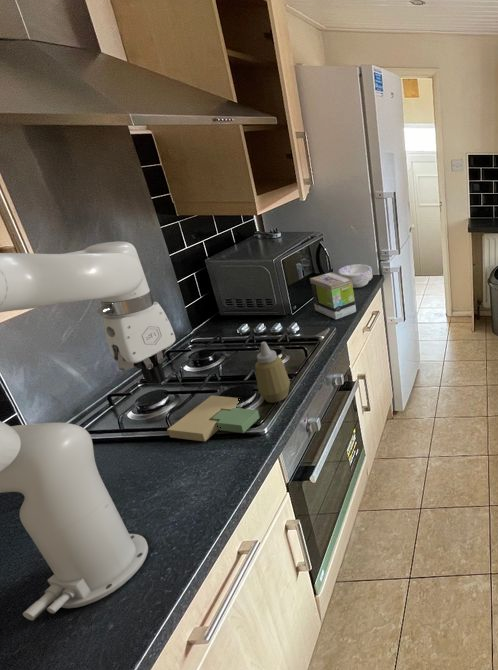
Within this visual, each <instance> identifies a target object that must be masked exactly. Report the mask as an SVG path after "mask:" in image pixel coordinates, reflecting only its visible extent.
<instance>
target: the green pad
mask: <svg viewBox="0 0 498 670" xmlns="http://www.w3.org/2000/svg"><path fill="white" fill-rule="evenodd" d="M260 418H261V417H260V413H259V410H257V409H248V408H243V409H241V408H233V409H232V410H231V411H227V410H221V411H220V412H219V413H217V414H216V415H215V416H214V417H213V418H212V421H217V425H218V428H219V430H218V431H221V432H231V433H239V434H244V433H245V432H247V430H249V429H250V428H251V426H253V425H254V424H255V423H256V422H257V421H258V420H259V419H260ZM220 427H221V428H220Z"/></svg>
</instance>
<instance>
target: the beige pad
mask: <svg viewBox="0 0 498 670" xmlns="http://www.w3.org/2000/svg"><path fill="white" fill-rule="evenodd" d="M238 398H239V397H231V396H224V395H223V396H222V395H210V396H209V397H207V398H206V399H204V401H202V402H201V403H200V404H198V405H197V406H196V407H194V408H193V409H192V410H191V411H189V412H188V413H186V414H185V415H184V416H183V417H182V418H180V419H179V420H177V421H176V422H175V423H173V424H172V425H171V426H170V427H168V428H167V429H166V432H167V433H168V436H169V438H172V439H179V440H180V439H181V440H190V441H197V442H198V441H199V442H206V441H208V440H209V439H210V438H211V437H213V435H215V433H217V432H218V431H220V430H219V428H218V427H217V426H218V425H217V421H212V418H213V417H214V416H215V415H216V414H217V413H219V412H220V411H221V410H227V411H231V410H232V409H233V408H236V406H237V404H238V403H239V401H238ZM239 400H240V399H239ZM241 409H244V408H241Z"/></svg>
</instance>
